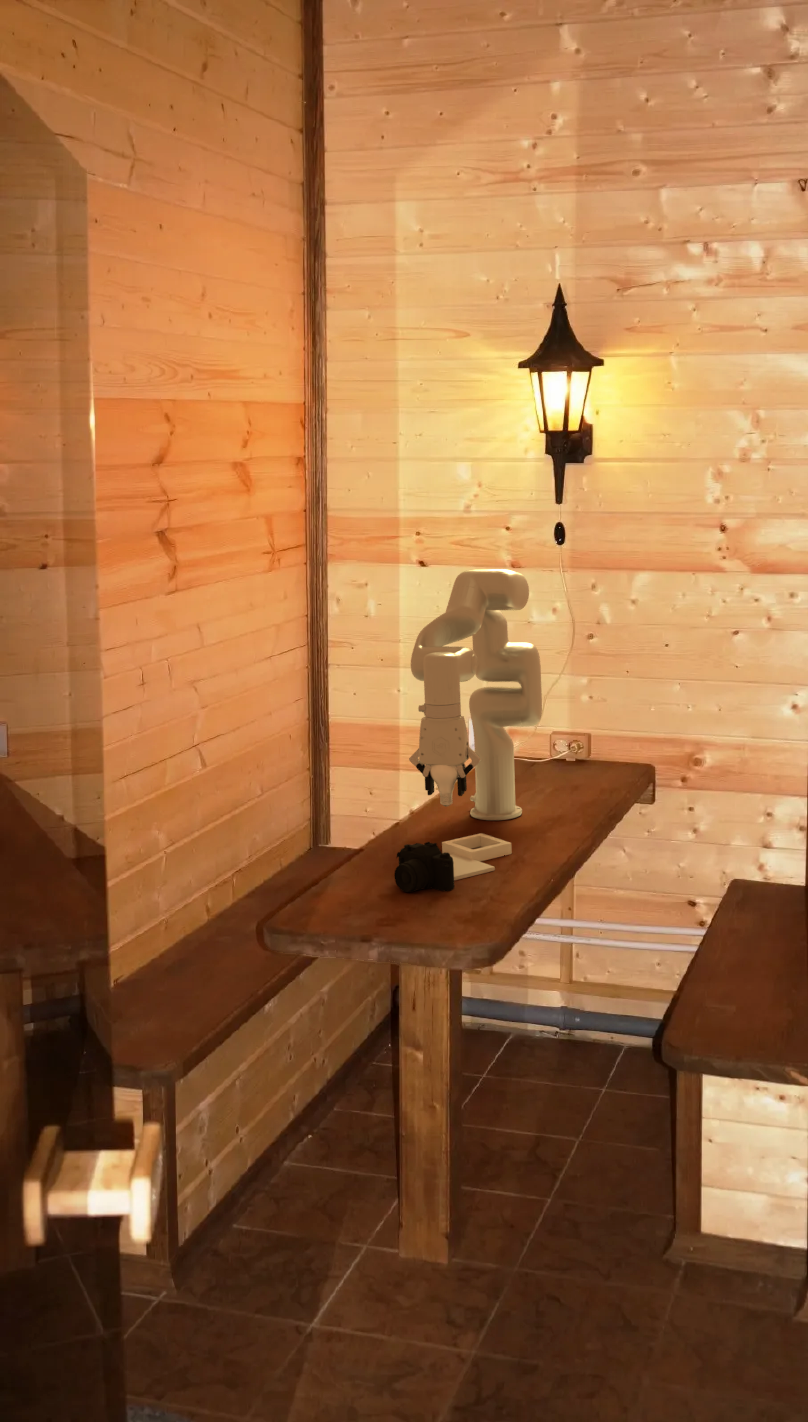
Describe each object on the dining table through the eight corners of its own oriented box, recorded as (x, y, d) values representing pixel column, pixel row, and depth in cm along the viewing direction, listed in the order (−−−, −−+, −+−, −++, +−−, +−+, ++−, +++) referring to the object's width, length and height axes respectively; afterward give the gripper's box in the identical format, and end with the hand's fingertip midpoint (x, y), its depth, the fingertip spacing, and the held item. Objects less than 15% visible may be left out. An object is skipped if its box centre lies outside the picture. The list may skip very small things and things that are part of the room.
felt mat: (403, 869, 317) (403, 865, 317) (456, 856, 324) (455, 853, 324) (441, 883, 305) (441, 879, 305) (494, 870, 313) (494, 866, 313)
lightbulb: (462, 809, 309) (460, 758, 307) (432, 810, 309) (430, 759, 307) (460, 801, 315) (458, 751, 313) (431, 803, 315) (428, 753, 313)
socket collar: (442, 852, 328) (441, 842, 327) (481, 843, 334) (481, 833, 333) (471, 863, 319) (471, 852, 318) (511, 853, 325) (511, 842, 324)
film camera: (377, 886, 306) (375, 844, 304) (410, 875, 312) (409, 834, 311) (427, 900, 295) (426, 857, 293) (461, 889, 302) (460, 846, 300)
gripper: (398, 713, 307) (402, 797, 311) (478, 714, 303) (481, 799, 306) (408, 707, 314) (411, 789, 318) (486, 708, 310) (489, 791, 313)
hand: (446, 793), depth 312 cm, fingers closed on lightbulb, 6 cm apart
